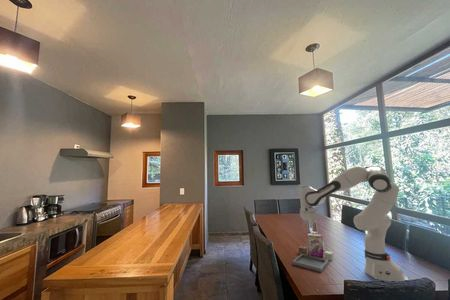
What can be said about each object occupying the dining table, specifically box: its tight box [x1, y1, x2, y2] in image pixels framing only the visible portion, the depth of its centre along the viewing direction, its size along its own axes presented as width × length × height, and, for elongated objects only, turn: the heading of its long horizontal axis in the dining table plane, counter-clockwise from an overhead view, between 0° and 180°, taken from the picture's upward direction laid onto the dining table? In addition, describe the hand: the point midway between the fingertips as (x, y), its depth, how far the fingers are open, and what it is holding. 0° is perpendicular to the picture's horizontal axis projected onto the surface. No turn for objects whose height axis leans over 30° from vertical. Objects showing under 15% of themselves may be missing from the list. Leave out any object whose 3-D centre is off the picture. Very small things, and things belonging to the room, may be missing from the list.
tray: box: [292, 254, 330, 273], centre depth 152 cm, size 20×18×2 cm
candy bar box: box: [307, 233, 324, 258], centre depth 167 cm, size 11×5×16 cm, turn 70°
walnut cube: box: [298, 245, 308, 255], centre depth 172 cm, size 5×5×5 cm
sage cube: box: [323, 250, 334, 261], centre depth 160 cm, size 5×5×5 cm
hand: (308, 226), depth 155 cm, fingers open, 8 cm apart
